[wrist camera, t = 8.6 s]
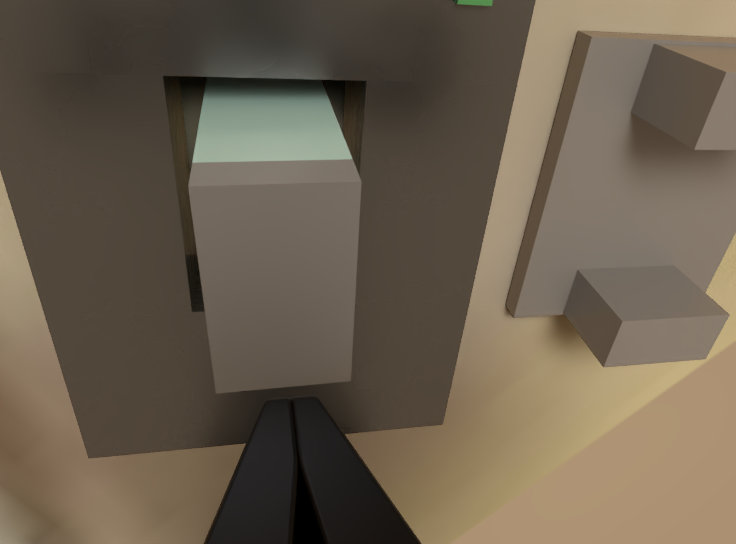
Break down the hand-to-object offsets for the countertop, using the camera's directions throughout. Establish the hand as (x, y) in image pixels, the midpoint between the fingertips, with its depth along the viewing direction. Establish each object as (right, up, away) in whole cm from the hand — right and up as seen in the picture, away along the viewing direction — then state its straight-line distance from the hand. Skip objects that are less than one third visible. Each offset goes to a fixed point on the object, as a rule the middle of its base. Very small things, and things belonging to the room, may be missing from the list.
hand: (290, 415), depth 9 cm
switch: (-2, +6, +8) cm, 10 cm away
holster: (+11, +5, +11) cm, 16 cm away
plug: (-2, +6, +8) cm, 10 cm away
